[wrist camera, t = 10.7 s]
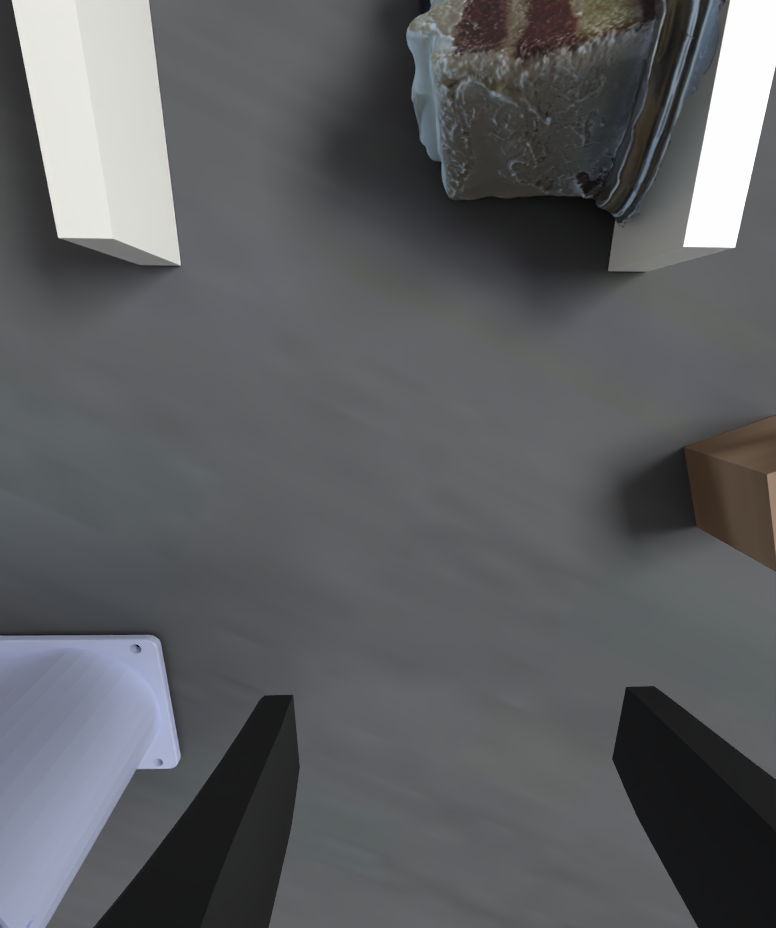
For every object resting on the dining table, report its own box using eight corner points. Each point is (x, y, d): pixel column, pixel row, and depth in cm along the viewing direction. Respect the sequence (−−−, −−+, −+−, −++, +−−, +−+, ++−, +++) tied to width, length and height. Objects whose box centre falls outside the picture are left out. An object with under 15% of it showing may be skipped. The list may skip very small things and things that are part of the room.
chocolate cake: (430, -232, 12) (316, -198, 6) (706, -333, 10) (894, -412, 5) (448, 143, 20) (405, 307, 14) (606, 124, 18) (628, 302, 13)
